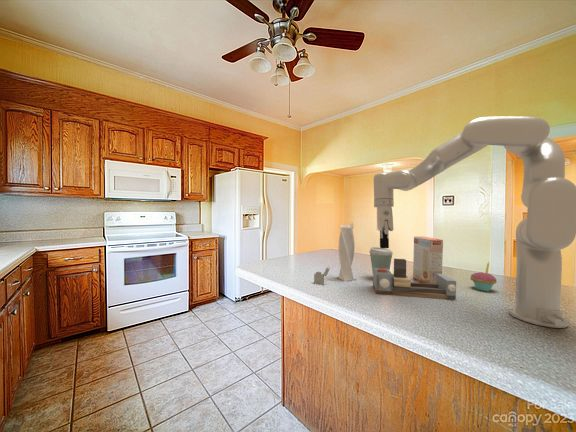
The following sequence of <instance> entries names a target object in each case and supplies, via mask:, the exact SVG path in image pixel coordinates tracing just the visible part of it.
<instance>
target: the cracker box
mask: <svg viewBox="0 0 576 432" xmlns="http://www.w3.org/2000/svg"><path fill="white" fill-rule="evenodd" d="M443 248H444V240H443V239H439V238H434V237H428V236H413V262H412V263H413V266H412V268H413V269H412V279H414V280H416V281H417V282H418V283H429V284H436V274H443V253H444V252H443V251H444V249H443Z"/></svg>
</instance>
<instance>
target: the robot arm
mask: <svg viewBox="0 0 576 432" xmlns="http://www.w3.org/2000/svg"><path fill="white" fill-rule="evenodd" d="M550 132H551V127H550V124H549V123H548V122H547V120H545V119H544V118H541V117H537V116H525V115H524V116H523V115H522V116H520V115H519V116H516V115H515V116H481V117H476V118H475V119H472V120H470V121H469V122H467V123H466V124H465V125H464V128H463V129H462V131H461V132H460V133H458V134H456V135H454V136H453V137H451V138H450V139H448V140H446V141H444V142H443V143H442V144H440V145H438V146H436V147H435V148H433V150H431V152H430V153H429V154H428V155H427V156H426V158H425V159H424V160H423V161H421V162H420V163H419V164H417V165H415V167H413V168H411V169H409V170H407V169H399V170H396V171H391V172H381V173H376V174H374V176H373V208H376V229H377V230H378V231H379V248H385V249H389V248H390V244H389V243H390V240H389V239H390V238H389V231H390V232H393V231H394V216H393V208H394V202H395V201H394V190H400V191H404V192H409V191H411V190H413V189H415V188H417V187H419V186H421V185H423V184H424V183H426V182H427V181H430V180H431V179H433V178H434V177H436V176H437V175H440V174H441V173H442V172H444V171H446V170H447V169H448V168H450V167H453V166H454V165H456V164H458V163H460V162H461V161H464V160H465V159H466V158H468V157H470V156H472V155H474V154H476V153H477V152H479V151H482V150H483V149H484V148H487V146H488V145H490V146H500V147H501V146H502V147H503V148H504V149H505V150H506V151H507V152H509V153H511V154H512V155H515V156H517V157H519V158H520V159H521V160H522V164H523V180H522V189H521V196H520V197H521V203H522V204H523V206H524V207H526V208H527V209H526V212H527V214H526V218H524V219H522V220H521V221H520V222H519V223H518V225H517V226H516V229H515V246H516V270H515V305H514V306H511V307H509V308H508V314H510V316H512V317H514V318H516V319H517V320H521V321H522V322H526V323H529V324H532V325H537V326H542V327H546V328H552V329H553V328H554V329H563V328H564V329H565V328H567V327H568V326H569V323H570V320H569V319H567V318H565V317H563V313H564V312H563V310H561V306H562V305H561V304H562V303H561V302H562V301H561V299H562V297H561V296H562V291H561V290H562V270H563V261H562V260H563V257H562V250H563V249H566V248H568V247H569V246H570V245H571V244H572V243H573V242H574V240H575V239H576V185H575V184H574V183H573V182H572V181H571V180H569V179H568V178H566V177H565V175H566V172H565V171H566V166H565V164H566V159H565V154H564V151H563V149H562V147H561V146H560V145H559V144H558V143H557V142H556V141H555V140H553V139H551V137H548V136H549V134H550Z"/></svg>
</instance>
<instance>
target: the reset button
mask: <svg viewBox="0 0 576 432" xmlns="http://www.w3.org/2000/svg"><path fill="white" fill-rule="evenodd" d="M378 272H387V270H386V269H385V268H378Z"/></svg>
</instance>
